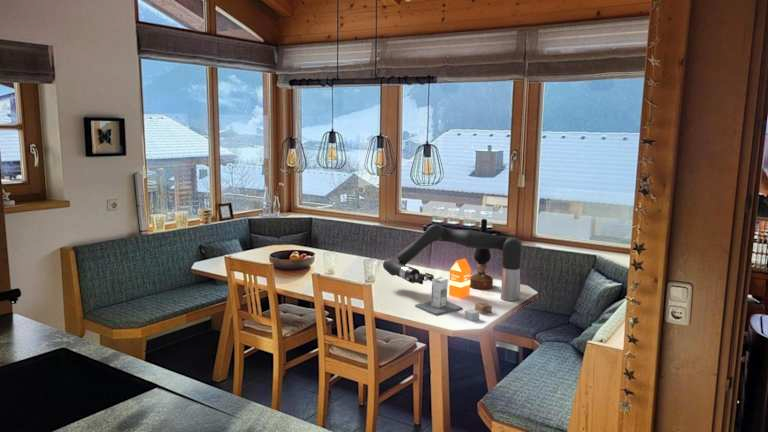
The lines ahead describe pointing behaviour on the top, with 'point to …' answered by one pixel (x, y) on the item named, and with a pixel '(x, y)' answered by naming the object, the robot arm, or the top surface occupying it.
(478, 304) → the walnut block
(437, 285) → the syrup box
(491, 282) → the oil lamp
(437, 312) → the charcoal mat
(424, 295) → the top surface
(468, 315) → the grey plastic block
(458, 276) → the orange juice
